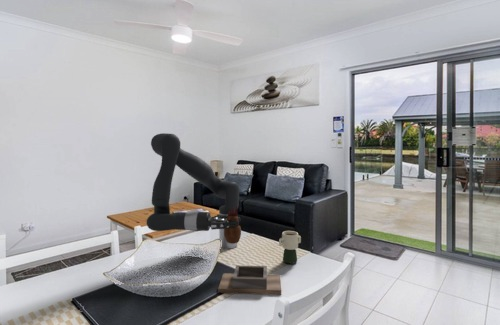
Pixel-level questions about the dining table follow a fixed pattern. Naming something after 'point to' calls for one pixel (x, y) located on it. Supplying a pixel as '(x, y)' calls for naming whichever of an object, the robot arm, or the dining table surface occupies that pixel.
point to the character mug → (290, 246)
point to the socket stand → (250, 281)
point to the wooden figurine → (232, 228)
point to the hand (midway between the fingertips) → (239, 221)
